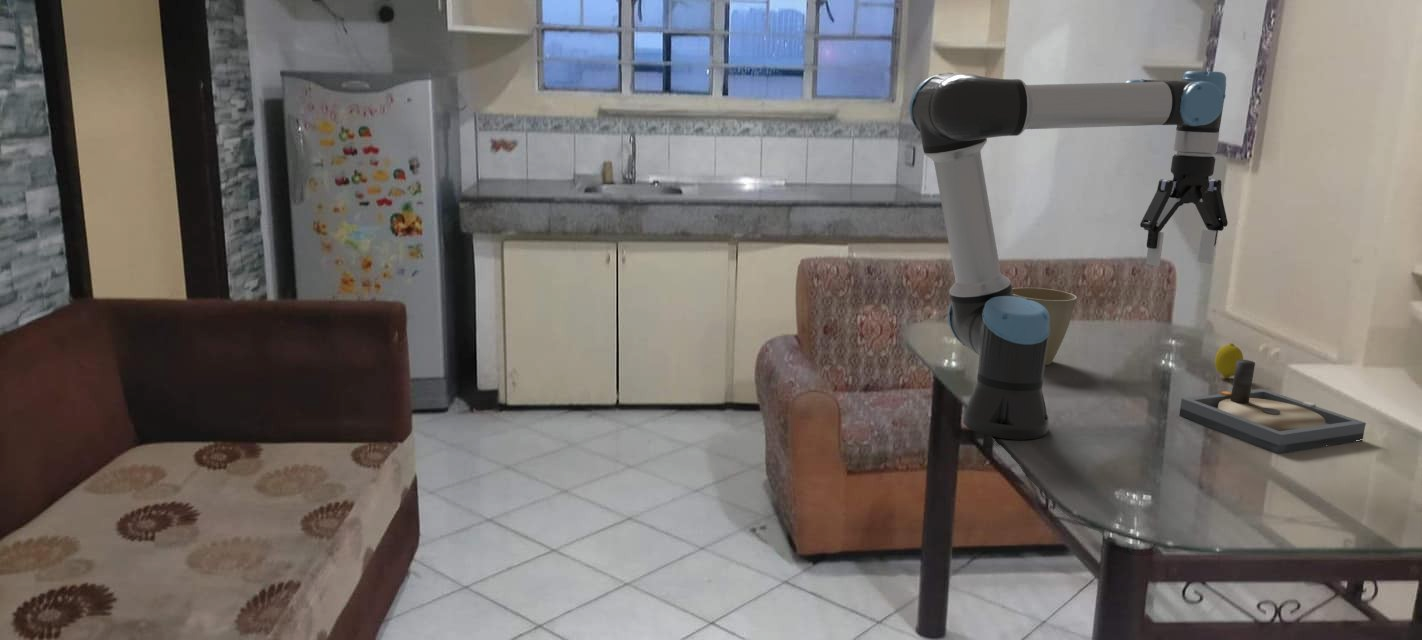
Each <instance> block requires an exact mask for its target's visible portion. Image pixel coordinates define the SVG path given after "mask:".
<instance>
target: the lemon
mask: <svg viewBox="0 0 1422 640" xmlns="http://www.w3.org/2000/svg"><path fill="white" fill-rule="evenodd" d="M1237 360H1244V355H1243V352H1242V350H1241V349H1240V348H1239V347H1237V346H1236V345H1235V344H1234V343H1229V344H1226V345H1223V346H1222V347H1220V348H1218V351H1217V353H1216V355H1215V358H1214V367H1215V369H1216V371H1217V372H1218V373H1219V374H1220V375H1221V376H1223V377H1224V379H1229V378H1230V377H1234V375H1235V368H1236V362H1237Z"/></svg>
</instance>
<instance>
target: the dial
mask: <svg viewBox="0 0 1422 640" xmlns="http://www.w3.org/2000/svg"><path fill="white" fill-rule="evenodd" d="M1255 366H1256V362H1255V361H1253V360H1248V359H1243V360H1237V362H1236V368H1235V375H1233V382H1232V388H1231V393H1232V394H1231V398H1230V399H1225V400H1222V401H1220V402H1219V404H1218V409H1220V410H1222V411H1225V412H1228V413H1231V414H1233V415H1236V416H1239V417H1242V418H1244V419H1247V420H1250V421H1253V422H1255V423H1258V424H1261V425H1264V426H1266V427H1269V428H1272V429H1274V430H1277V431H1286V430H1293V429H1300V428H1307V427H1314V426H1321V425H1325V419H1324V418H1323V417H1322V416H1321V415H1319V414H1318V413H1316V412H1313V411H1311V410H1309V409H1306V408H1303V407H1300V406H1296V405H1292V404H1288V403H1284V402H1279V401H1273V400H1266V399H1257V398H1250V392H1251V390H1252V384H1253V378H1254V373H1255Z"/></svg>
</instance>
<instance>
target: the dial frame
mask: <svg viewBox="0 0 1422 640" xmlns="http://www.w3.org/2000/svg"><path fill="white" fill-rule="evenodd" d="M1231 394H1232V392H1229V391H1227V390H1226V391H1220V393H1217V394H1216V393H1215V394H1207V395H1200V396H1191V397H1183V398H1181V402H1180V408H1179V414H1178V415H1179V417H1181V418H1184V419H1187V420H1190V421H1193V422H1195V423H1197V424H1199V425H1200V424H1201V425H1203V426H1205V427H1208V428H1210V429H1213V430H1215V431H1218V432H1221V433H1223V434H1226V435H1229V436H1231V437H1234V438H1237V439H1239V440H1241V441H1244V442H1246V443H1249V444H1252V445H1255V446H1257V447H1259V448H1262V449H1265V450H1267V451H1270V452H1273V453H1275V454H1277V455H1279V454H1286V453H1290V452H1291V453H1292V452H1293V453H1294V452H1298V451H1304V449H1306V450H1312V449H1318V448H1324V447H1323V446H1325V447H1327V446H1326V445H1332V446H1337V445H1344V444H1345V445H1346V444H1350V443H1351V444H1352V443H1355V442H1354V441H1356V440H1360V439H1363V440H1364V436H1365V435H1364V434H1365V429H1366V424H1367V423H1366V422H1365V421H1362V420H1358V419H1355V418H1352V417H1349V416H1346V415H1343V414H1340V413H1337V412H1334V411H1332V410H1328V409H1325V408H1323V407H1319V406H1316V405H1317V404H1316V403H1313V402H1310V401H1304V402H1303V401H1301V400H1299V399H1298V400H1297V399H1294V398H1292V397H1290V396H1289V397H1288V396H1285V395H1283V394H1279V393H1277V392H1273V391H1270V390H1268V389H1264V388H1258V389H1257V388H1256V389H1251V392H1250V398H1257V399H1266V400H1273V401H1279V402H1284V403H1288V404H1292V405H1296V406H1300V407H1303V408H1306V409H1309V410H1311V411H1313V412H1316V413H1318V414H1319V415H1321V416H1322V417H1323V418H1324V419H1325V425H1321V426H1314V427H1307V428H1300V429H1293V430H1286V431H1277V430H1274V429H1272V428H1269V427H1266V426H1264V425H1261V424H1258V423H1255V422H1253V421H1250V420H1247V419H1244V418H1242V417H1239V416H1236V415H1233V414H1231V413H1228V412H1225V411H1222V410H1220V409H1218V404H1219V402H1220V401H1222V400H1225V399H1230V398H1231Z"/></svg>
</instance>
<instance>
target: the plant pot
mask: <svg viewBox="0 0 1422 640" xmlns="http://www.w3.org/2000/svg"><path fill="white" fill-rule="evenodd" d="M1012 292H1013V296H1014V297H1021V298H1025V299H1027V300H1032V301H1035V302H1037V303H1039V304H1041V305H1043V306H1044V307H1045V308H1046V309H1047V311H1048V313H1049V316H1050V323H1049V326H1050V333H1049V336H1048V344H1047V353H1046V361H1045V366H1049V365H1051V364H1052V362H1053V361H1054V359H1055V357H1056V355H1057V353H1058V351H1059V349H1060V348H1061V344H1062V343H1063V341H1064V339H1065V335H1066V333H1067V331H1068V328H1069V325H1070V322H1071V319H1072V317H1073V313H1074V310H1075V306H1076V303H1077V298H1078V297H1077V295H1075V294H1073V293H1071V292H1066V291H1062V290H1058V289H1053V288H1052V289H1050V288H1044V287H1014V288H1013V287H1012Z"/></svg>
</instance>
